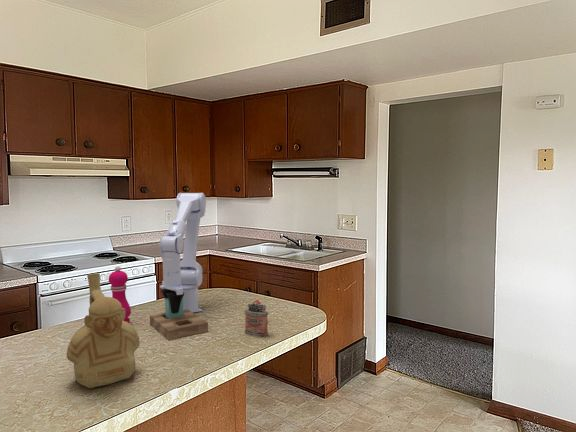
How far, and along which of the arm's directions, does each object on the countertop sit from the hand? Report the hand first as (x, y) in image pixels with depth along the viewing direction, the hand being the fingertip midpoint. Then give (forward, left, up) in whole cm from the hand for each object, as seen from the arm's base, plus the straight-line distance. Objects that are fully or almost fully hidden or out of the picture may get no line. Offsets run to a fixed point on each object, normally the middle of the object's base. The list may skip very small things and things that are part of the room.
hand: (173, 311), depth 151 cm
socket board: (+5, 0, -4) cm, 6 cm away
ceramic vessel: (+29, -28, -5) cm, 40 cm away
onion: (+15, +24, -5) cm, 28 cm away
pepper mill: (-9, -15, -5) cm, 18 cm away
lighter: (+25, +18, -5) cm, 31 cm away
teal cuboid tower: (0, 0, -3) cm, 4 cm away
